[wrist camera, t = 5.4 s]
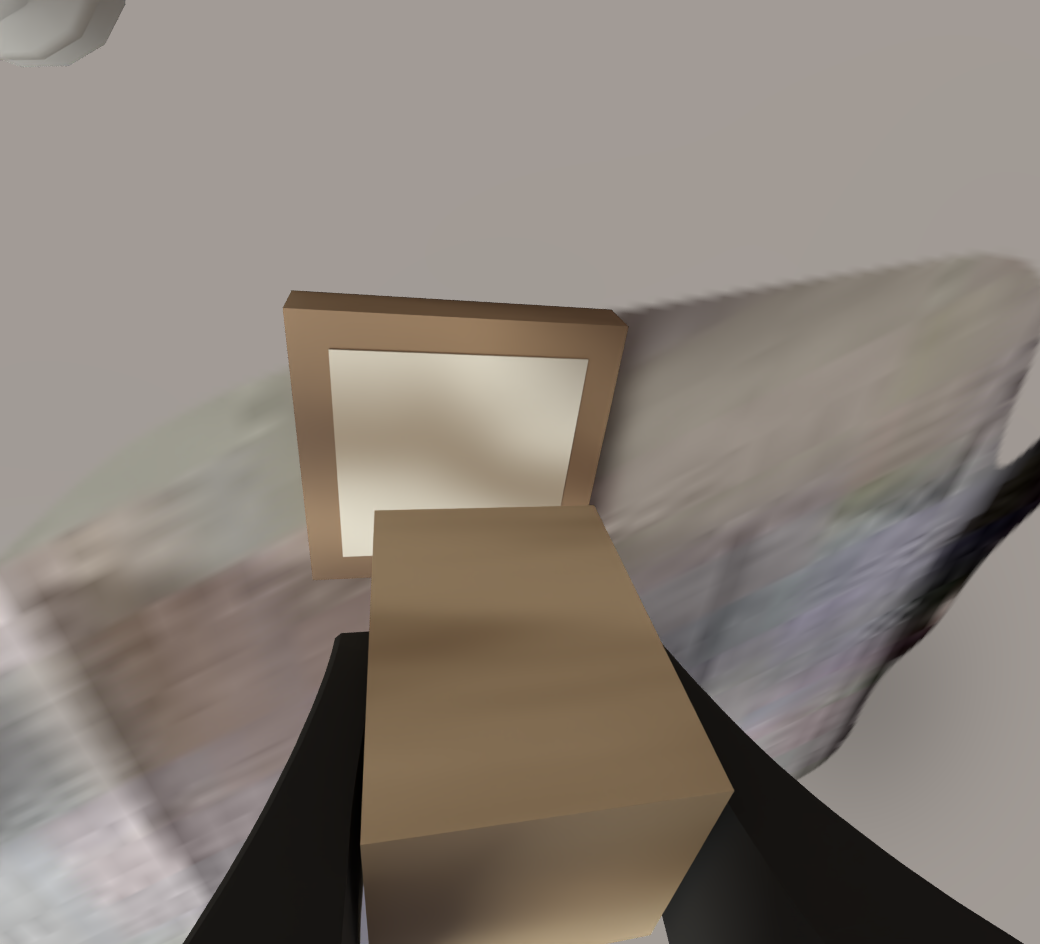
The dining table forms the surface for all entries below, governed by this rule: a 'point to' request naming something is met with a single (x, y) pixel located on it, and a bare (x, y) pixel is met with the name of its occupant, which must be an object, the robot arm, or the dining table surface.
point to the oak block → (522, 736)
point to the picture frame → (441, 409)
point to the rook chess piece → (54, 30)
